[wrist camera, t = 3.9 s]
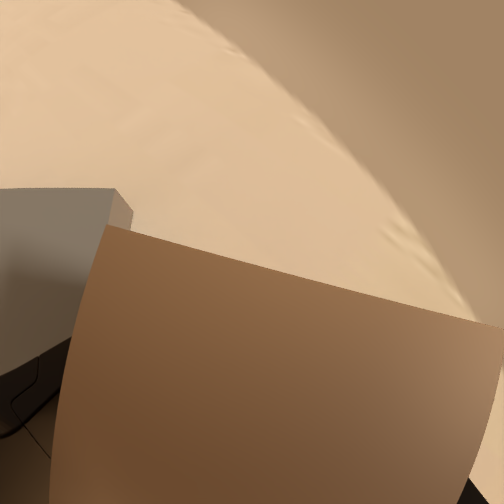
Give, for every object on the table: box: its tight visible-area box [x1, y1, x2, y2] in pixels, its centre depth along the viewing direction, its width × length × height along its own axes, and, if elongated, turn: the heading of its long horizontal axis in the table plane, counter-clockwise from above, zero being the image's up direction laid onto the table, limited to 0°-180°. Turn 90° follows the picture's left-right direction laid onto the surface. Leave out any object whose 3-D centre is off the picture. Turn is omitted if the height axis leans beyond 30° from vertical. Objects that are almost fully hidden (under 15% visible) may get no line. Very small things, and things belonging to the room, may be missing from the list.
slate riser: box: [0, 188, 133, 375], centre depth 13 cm, size 14×14×3 cm
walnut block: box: [49, 224, 504, 504], centre depth 9 cm, size 5×5×13 cm
